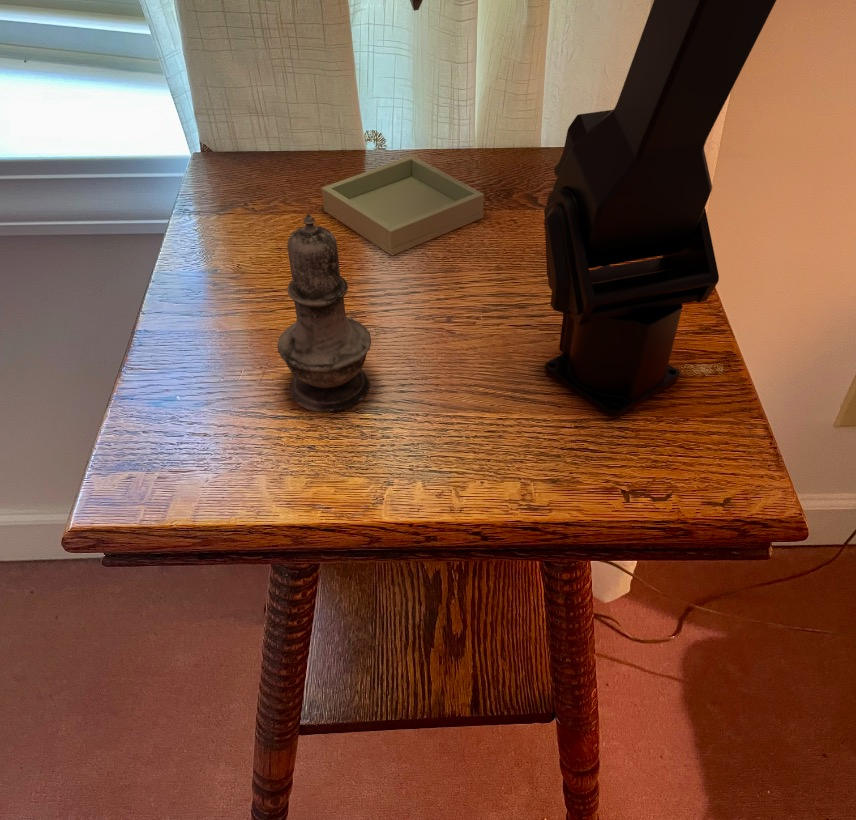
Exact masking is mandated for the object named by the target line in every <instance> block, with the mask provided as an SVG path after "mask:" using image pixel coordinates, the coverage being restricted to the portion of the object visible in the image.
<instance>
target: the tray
mask: <svg viewBox="0 0 856 820" xmlns="http://www.w3.org/2000/svg"><path fill="white" fill-rule="evenodd" d="M321 195H322V203H323V212H325V213H327V214H328V215H329V216H331V217H332V218H333V219H335V220H337V221H338V222H340V223H341V224H343V225H344V226H346V227H348V228H349V229H350V230H352V231H354V232H355V233H357V234H358V235H359V236H361V237H362V238H364V239H366V240H367V241H369V242H370V243H372V244H373V245H375V246H376V247H378V248H379V249H382V250H383V251H384V252H386V253H387V254H389V255H390V256H395V255H398V254H400V253H402V252H404V251H407V250H410V249H411V248H413V247H417V246H419V245H421V244H424V243H426V242H428V241H430V240H433V239H436V238H438V237H440V236H443V235H445V234H447V233H450V232H452V231H454V230H457V229H459V228H461V227H465V226H467V225H469V224H471V223H473V222H477V221H479V220H481V219H483V218H484V205H485V202H484V201H485V194H484V193H482V192H481V191H479V190H478V189H476V188H473V187H472V186H471V185H468V184H466V183H465V182H463V181H461V180H458V179H457V178H455V177H454V176H451V175H450V174H447V173H446V172H445V171H442V170H440V169H438V168H437V167H434V166H433V165H431V164H429V163H427V162H425V161H423V160H422V159H420V158H417V157H416V156H414V155H410V156H409V155H408V156H406V157H404V158H401V159H398V160H396V161H395V160H394V161H392V162H389V163H386V164H384V165H381V166H379V167H376V168H373V169H370V170H368V171H365V172H362V173H359V174H356V175H353V176H350V177H347V178H345V179H342V180H340V181H337V182H334V183H330V184H328V185H325V186H322V187H321Z"/></svg>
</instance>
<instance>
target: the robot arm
mask: <svg viewBox="0 0 856 820" xmlns="http://www.w3.org/2000/svg"><path fill="white" fill-rule="evenodd" d="M423 1H424V0H409V2H410V4H411V8H412V10H413V11H414V12H416V11H419V10H420V8H421V6H422V3H423ZM776 2H777V0H653V2H652V5H651V7H650V10H649V13H648V15H647V18H646V22H645V24H644V26H643V30H642V33H641V35H640V38H639V41H638V43H637V46H636V50H635V52H634V54H633V58H632V61H631V63H630V66H629V69H628V72H627V74H626V77H625V80H624V83H623V86H622V88H621V91H620V93H619V96H618V99H617V102H616V105H615V106H614V108H613V109H607V110H603V111H602V110H601V111H593V112H586V113H585V112H584V113H579V114H577V115H576V116H575V117H574V119H573V120H572V122H571V123H570V125H569V126H568V128H567V131H566V137H565V141H564V146H563V150H562V153H561V155H560V158H559V161H558V162H557V164H556V165H555V166H554V168H553V173H554V175H555V176H557V177H556V179H555V182H554V184H553V187H552V190H551V192H550V193H549V194H548V197H547V201H546V206H545V207H544V210H543V211H544V212H543V214H544V217H543V218H544V220H543V225H544V226H543V227H544V236H545V237H544V238H545V239H544V241H545V263H546V265H545V266H546V276H547V284H548V287H549V289H550V290H551V293H550V304H549V305H550V307H551V308H552V310H553V311H555V312H559V313H562V322H561V327H560V337H559V344H558V350H559V352H560V353H561V354H559V355H557V356H556V357H553V358H551V359H550V360H548V361H546V363H545V364H544V368H543V369H544V370H543V371H544V373H545V374H546V375H548V376H550V377H551V378H552V379H554V380H555V381H557V382H559V383H560V384H562V385H563V386H564V387H566V388H567V389H569V390H570V391H572V392H573V393H575V394H576V395H578V396H579V397H581V398H582V399H584V400H585V401H587V402H588V403H590V404H591V405H593V406H594V407H595V408H597V409H599V410H600V411H602V412H603V413H605V414H606V415H608V416H609V417H612V418H617V417H619V416H622V415H623V414H625V413H626V412H628V411H630V410H631V409H633V408H635V407H637V406H638V405H640V404H641V403H643V402H644V401H646V400H648V399H650V398H651V397H653V396H654V395H656V394H658V393H660V392H661V391H663V390H664V389H666V388H667V387H669V386H671V385H673V384H674V383H676V382H677V381H678V380H679V378H680V375H681V373H680V370H678V369H677V368H676V367H674V366H673V365H671V364H670V360H671V355H672V351H673V347H674V344H675V338H676V335H677V331H678V328H679V322H680V319H681V315H682V311H683V305H685V304H691V303H698V304H699V303H705V302H707V301H708V299H709V298H710V296H711V295H712V293H713V291H714V290H715V289H716V287H717V285H718V283H719V280H720V275H719V269H718V264H717V260H716V255H715V249H714V245H713V240H712V236H711V231H710V225H709V220H708V215H707V209H706V207H707V203H708V201H709V199H710V196H711V193H712V190H713V184H712V179H711V175H710V170H709V165H708V161H707V157H706V152H705V145H706V143H707V140H708V138H709V135H710V134H711V132H712V130H713V128H714V126H715V124H716V122H717V120H718V117H719V116H720V114H721V112H722V110H723V108H724V106H725V104H726V103H727V100H728V97H729V96H730V94H731V92H732V90H733V88H734V86H735V84H736V82H737V80H738V78H739V76H740V74H741V73H742V70H743V68H744V66H745V64H746V62H747V60H748V58H749V56H750V54H751V52H752V50H753V48H754V46H755V44H756V43H757V41H758V37H759V36H760V34H761V32H762V30H763V29H764V26H765V25H766V23H767V20H768V18H769V17H770V15H771V13H772V11H773V8H774V6H775V4H776Z"/></svg>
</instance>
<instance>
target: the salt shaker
mask: <svg viewBox="0 0 856 820" xmlns="http://www.w3.org/2000/svg"><path fill="white" fill-rule="evenodd" d="M302 223H303V224H304V226H300V227H298V228H296V229H295V230H294V231H292V232H291V234H290V235H289V237H288V239H287V243H286V245H287V246H286V247H287V254H288V259H289V260H288V261H289V267H290V271H291V272H290V274H291V281H290V282H289V283H288V285H287V288H286V289H287V295H288V297H289V298H290V299H291V300H293V302H294V307H295V308H294V309H295V315H296V316H295V317H296V321H295V322H293V323H292V324H291V325H289V326H288V327H286V328H285V329H284V330H283V332H282V333H281V334H280V336H279V337H278V340H277V352H278V354H279V356H280V358H281V359H282V361H284V362H285V364H286V366H287V368H288V369H289V370H290V372H291V373H292V376H293V378H292V379H291V381H290V383H289V394H290V397H291V398H292V400H293V402H295V404H297V405H298V406H299V407H301V408H304V409H306V410H308V411H313V412H317V413H335V412H340V411H344V410H347V409H350V408H352V407H355V406H356V405H358V404H360V403H361V402H362V401H363V400H364V399H365V398H366V396H368V393H370V388H371V382H370V377H369V375H368V374H367V372H366V371H365V370H364V369H363V367H364V364H365V361H366V358H367V355H368V352H369V351H370V349H371V344H372V337H371V333H370V332H369V330H368V328H367V327H366V326H365V325H363V324H362V323H361V322H360V321H358V320H356V319H354V318H351V317H348V316H347V314H346V306H345V296H346V294H347V293H348V290H349V286H348V282H347V280H346V279H345V278H344V277H342V276H341V270H340V269H341V268H340V261H339V251H338V242H337V238H336V236H335V235H334V234H333V232H332V231H331V230H329V229H327V228H326V227H323V226H320V225H316V224H315V223H316V219H315V218H314V217H313V216H312V215H311V214H310V213H307V214H306V215H305V216H304V219H302Z"/></svg>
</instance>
